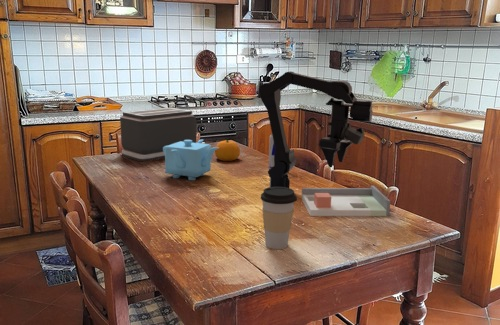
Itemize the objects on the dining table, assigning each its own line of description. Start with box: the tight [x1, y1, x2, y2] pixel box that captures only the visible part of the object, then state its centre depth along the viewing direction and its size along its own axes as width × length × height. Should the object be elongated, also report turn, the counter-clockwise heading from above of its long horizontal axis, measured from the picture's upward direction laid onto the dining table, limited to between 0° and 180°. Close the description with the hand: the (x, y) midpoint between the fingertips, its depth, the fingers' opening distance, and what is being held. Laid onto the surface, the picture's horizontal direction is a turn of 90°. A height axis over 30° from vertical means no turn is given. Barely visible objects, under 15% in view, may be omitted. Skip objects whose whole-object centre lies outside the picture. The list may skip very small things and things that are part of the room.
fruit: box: [214, 138, 241, 162], centre depth 220 cm, size 12×12×10 cm
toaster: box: [119, 107, 198, 162], centre depth 228 cm, size 19×35×20 cm, turn 137°
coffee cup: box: [260, 186, 298, 250], centre depth 125 cm, size 9×9×15 cm
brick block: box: [314, 193, 331, 208], centre depth 152 cm, size 4×4×4 cm
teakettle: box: [163, 138, 218, 181], centre depth 189 cm, size 19×19×15 cm
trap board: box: [301, 185, 391, 217], centre depth 157 cm, size 25×17×5 cm
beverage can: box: [268, 134, 275, 170], centre depth 203 cm, size 5×5×15 cm
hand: (335, 164), depth 163 cm, fingers open, 9 cm apart
